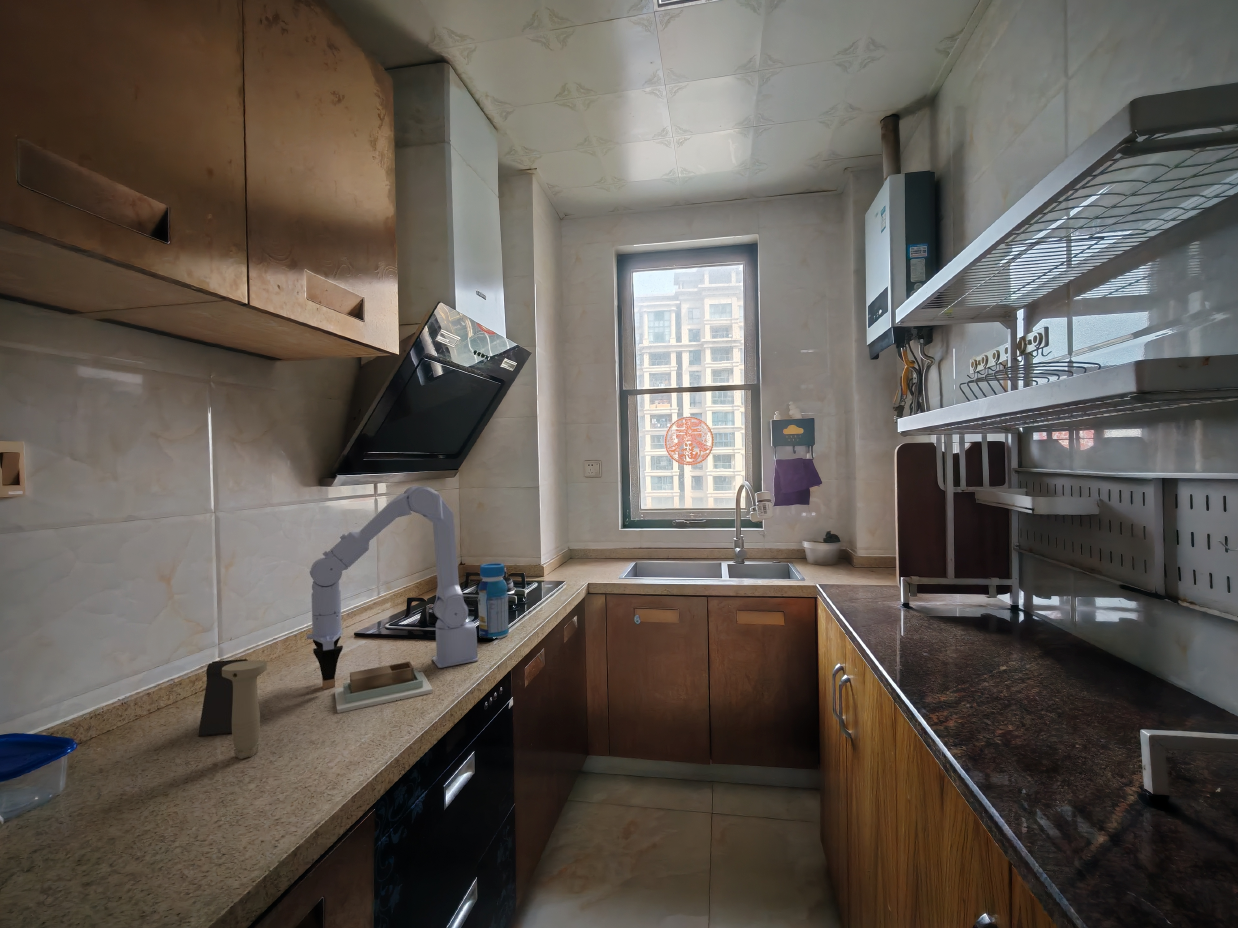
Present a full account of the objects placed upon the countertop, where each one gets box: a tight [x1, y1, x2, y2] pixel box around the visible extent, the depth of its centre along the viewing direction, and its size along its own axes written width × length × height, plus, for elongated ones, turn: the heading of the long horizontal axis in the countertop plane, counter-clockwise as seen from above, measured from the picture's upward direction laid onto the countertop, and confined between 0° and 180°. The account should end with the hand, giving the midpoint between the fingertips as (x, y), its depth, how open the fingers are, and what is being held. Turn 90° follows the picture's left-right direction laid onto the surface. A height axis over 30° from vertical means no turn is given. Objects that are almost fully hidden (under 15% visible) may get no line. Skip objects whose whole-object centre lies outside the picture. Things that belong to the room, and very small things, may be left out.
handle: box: [222, 659, 268, 760], centre depth 94 cm, size 5×6×15 cm
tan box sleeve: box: [349, 660, 415, 693], centre depth 119 cm, size 12×5×4 cm, turn 119°
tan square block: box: [321, 677, 336, 690], centre depth 124 cm, size 2×2×6 cm
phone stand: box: [197, 658, 249, 738], centre depth 106 cm, size 9×6×12 cm, turn 8°
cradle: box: [334, 668, 434, 714], centre depth 119 cm, size 18×12×2 cm, turn 119°
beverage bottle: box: [477, 562, 510, 640], centre depth 158 cm, size 8×8×20 cm
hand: (328, 674), depth 124 cm, fingers open, 7 cm apart
